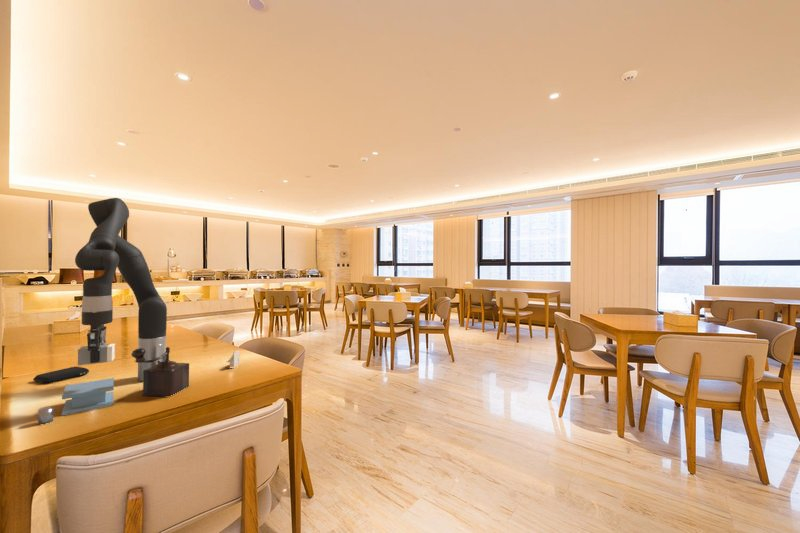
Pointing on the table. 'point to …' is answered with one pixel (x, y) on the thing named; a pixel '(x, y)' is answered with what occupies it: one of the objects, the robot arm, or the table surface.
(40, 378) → the carrying case or bag
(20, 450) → the table surface
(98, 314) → the robot arm
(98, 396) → the stand
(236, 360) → the architectural model
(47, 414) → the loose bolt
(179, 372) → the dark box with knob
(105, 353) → the block
